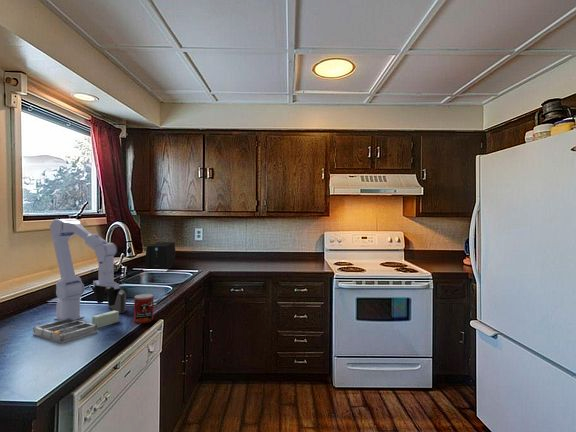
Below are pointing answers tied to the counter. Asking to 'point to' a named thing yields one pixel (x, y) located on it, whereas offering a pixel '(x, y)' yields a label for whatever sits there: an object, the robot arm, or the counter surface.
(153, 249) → the uninterruptible power supply
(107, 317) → the pale green rectangular box
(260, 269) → the counter surface
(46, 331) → the rack
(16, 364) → the counter surface
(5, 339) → the counter surface
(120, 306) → the leaning round-cornered charcoal block
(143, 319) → the canned food
